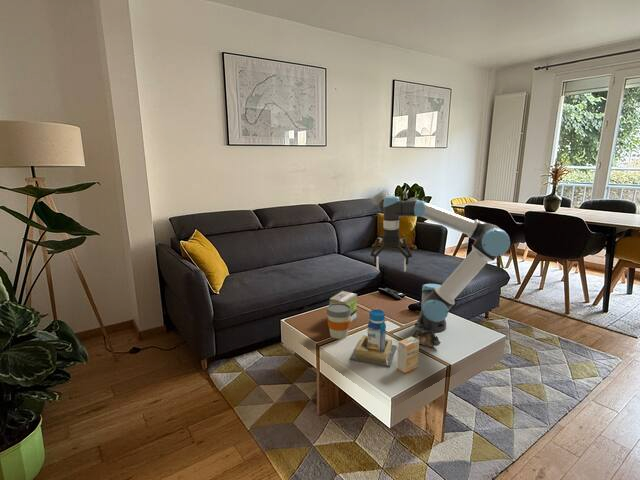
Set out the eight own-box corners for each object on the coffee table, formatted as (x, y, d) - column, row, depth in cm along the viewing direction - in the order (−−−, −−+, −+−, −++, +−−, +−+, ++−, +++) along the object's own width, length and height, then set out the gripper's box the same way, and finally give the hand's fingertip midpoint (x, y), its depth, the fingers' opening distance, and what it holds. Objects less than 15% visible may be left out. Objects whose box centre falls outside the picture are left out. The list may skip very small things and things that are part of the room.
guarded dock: (396, 347, 171) (396, 338, 170) (390, 367, 154) (390, 357, 153) (360, 341, 177) (360, 332, 176) (349, 359, 161) (350, 350, 160)
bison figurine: (410, 340, 178) (415, 349, 168) (411, 326, 177) (415, 335, 167) (434, 340, 178) (440, 350, 168) (435, 327, 177) (441, 336, 167)
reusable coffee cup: (325, 339, 179) (325, 312, 176) (328, 328, 191) (328, 302, 188) (350, 341, 177) (350, 313, 174) (351, 329, 189) (352, 303, 186)
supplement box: (405, 374, 149) (406, 345, 147) (396, 369, 153) (397, 341, 150) (418, 367, 154) (419, 339, 151) (409, 362, 158) (410, 335, 155)
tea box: (344, 327, 192) (344, 302, 189) (328, 323, 197) (328, 298, 194) (357, 317, 204) (357, 293, 201) (341, 313, 209) (341, 290, 206)
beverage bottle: (388, 355, 162) (389, 314, 157) (370, 358, 160) (371, 317, 155) (380, 346, 170) (382, 307, 165) (364, 349, 168) (364, 309, 163)
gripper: (417, 227, 174) (417, 269, 179) (367, 226, 181) (367, 266, 186) (417, 230, 167) (416, 273, 172) (364, 229, 174) (365, 271, 179)
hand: (391, 270), depth 179 cm, fingers open, 13 cm apart
